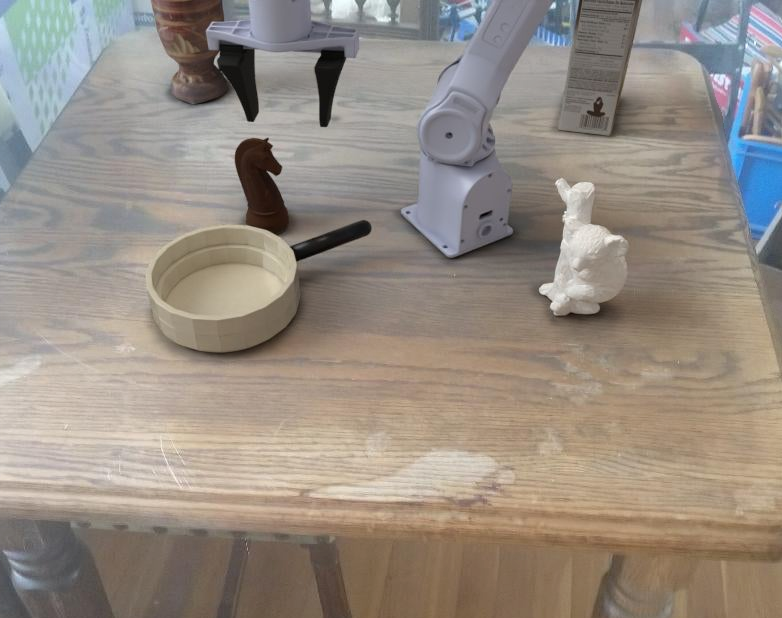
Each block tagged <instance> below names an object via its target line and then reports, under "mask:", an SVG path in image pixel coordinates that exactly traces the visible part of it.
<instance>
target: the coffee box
mask: <svg viewBox="0 0 782 618" xmlns="http://www.w3.org/2000/svg"><path fill="white" fill-rule="evenodd" d="M642 3H643V0H578V6H577V12H576V17H575V24H574V31H573V34H572V41H571V46H570V47H571V48H570V53H569V54H570V55H569V58H568V65H567V71H566V78H565V83H564V89H563V95H562V101H561V106H560V113H559V119H558V120H559V121H558V126H557V129H558V130H559V131H565V132H572V133H573V132H574V133H581V134H582V133H583V134H589V135H591V134H592V135H599V136H609V137H610V136H611V135H612V132H613V128H614V125H615V121H616V118H617V115H618V114H617V113H618V109H619V104H620V101H621V97H622V92H623V88H624V84H625V80H626V75H627V71H628V68H629V62H630V57H631V53H632V49H633V45H634V40H635V35H636V31H637V26H638V22H639V18H640V12H641V9H642Z"/></svg>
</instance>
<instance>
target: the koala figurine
mask: <svg viewBox="0 0 782 618" xmlns="http://www.w3.org/2000/svg"><path fill="white" fill-rule="evenodd" d="M554 185H555V186H556V189H557V192H558V195H559V196H560V197H561V199H562V202H563V203H565V205H566V210H564V211H563V213H564V214H562V219H561V220H562V223H564V226H563V228H562V240H561V243H560V246H559V249H560V252H559V253H560V254H559V257H558V260H557V263H556V266H555V270H554V279H553V282H549V283H543V284H541V286H540V287H539V288H538V291H539V294H540V295H541V296H542V295H543V296H546V297H547V298H548V299H549V300H550V301H551V303H550V305H549V309H550V310H551V311H552V312H553V315H554V316H557V317H558V316H559V317H560V316H567V315H568V314H570V313H573V314H576V315H577V314H578V315H592V314H593V315H594V314H597V313H598V312H600V310H601V306H600V303H604V302H605V303H606V302H607V301H610V300H612V299H613V298H615V297H616V296H618V295H619V293H620V292H621V291H622V289H623V287H624V286H625V284H626V281H627V278H628V263H627V261H626V257H625V255H627V252H628V251H629V241H628V240H626V239H625V238H624V236H622V235H619V234H618V235H615V234H612V232H610V230H609V229H608V228H606V227H605V226H602V225H599V224H593V223H591V222H592V221H591V220H592V213H593V206H594V202H595V197H596V186H595V185H594V183H592V182H590V181H586V182H585V181H580V182H577V183H575V184H574V185H573V186H572V187H571V186H570V185H569V183H568V181H567V180H566V178H563V177H561V178H558V179H556V181H555V183H554Z"/></svg>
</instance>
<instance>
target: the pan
mask: <svg viewBox="0 0 782 618" xmlns="http://www.w3.org/2000/svg"><path fill="white" fill-rule="evenodd" d="M144 276H145V288H146V293H147V297H148V301H149V304H150V308H151V313H152V316H153V320H154V322H155V323H156V324H157V325H156V326H158V328H159V330H160V332H161V333H162V335H163V336H166V337H167V338H168V339H170V340H171V341H173V342H174V343H175V344H177V345H180V346H182V347H186V348H188V349H192V350H195V351H198V352H205V353H206V352H207V353H219V354H220V353H232V352H238V351H239V352H240V351H243V350H247V349H250V348H253V347H255V346H258V345H260V344H262V343H263V344H264V342H266V341H268V340H271V339H272V338H273V337H275V336H276V335H277V334H279V333H280V332H281V331H283V330H284V329H285V328H286V327H288V325H289V324H290V322H291V321H292V319H293V318H294V317H295V315H296V314H297V312H298V308H299V303H300V299H301V294H300V281H299V269H298V262H296V259H295V255H294V252H293V250H292V249H291V248H290V245H288V243H287V242H286V241H285V240H284V238H283V237H280V236H278V234H277V235H275V234H273V233H271V232H269V231H267V230H264V229H260V228H256V227H252V226H248V225H246V224H227V223H226V224H218V225H217V224H216V225H211V226H203V227H200V228H197V229H195V230H191V231H188V232H185V233H183V234H181V235H179V236H177V237H176V238H174V239H172V240H170V241H169V242H168V243H166V244H164V245H163V246H162V247H161V248H160V249H159V250H158V251H157V252H156V253H155V254H154V256H153V257H151V259H150V262H149V265H148V266H147V269H146V271H145V275H144Z"/></svg>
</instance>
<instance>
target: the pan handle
mask: <svg viewBox="0 0 782 618" xmlns="http://www.w3.org/2000/svg"><path fill="white" fill-rule="evenodd" d="M372 228H373V227H372V224H371V222H370V221H368V220H367V219H360V220H358V221H356V222H355V221H354V222H352V223H349V224H347V225H344V226H342V227H339V228H337V229H333V230H331V231H328V232H325V233H322V234H320V235H317V236H314V237H312V238H309V239H306V240H303V241H301V242H298V243H295V244H293V245H289V247H290V248H291V249H292V250H293V252H294V255H295V259H296V262H297V263H298V262H300V261H302V260H306V259H309V258H311V257H314V256H317V255H319V254H321V253H324V252H327V251H330V250H332V249H335V248H337V247H341V246H343V245H345V244H346V245H347V244H349V243H351V242H354V241H357V240H359V239H362V238H365V237H367V236H369V235H370V234H371V232H372Z"/></svg>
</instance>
